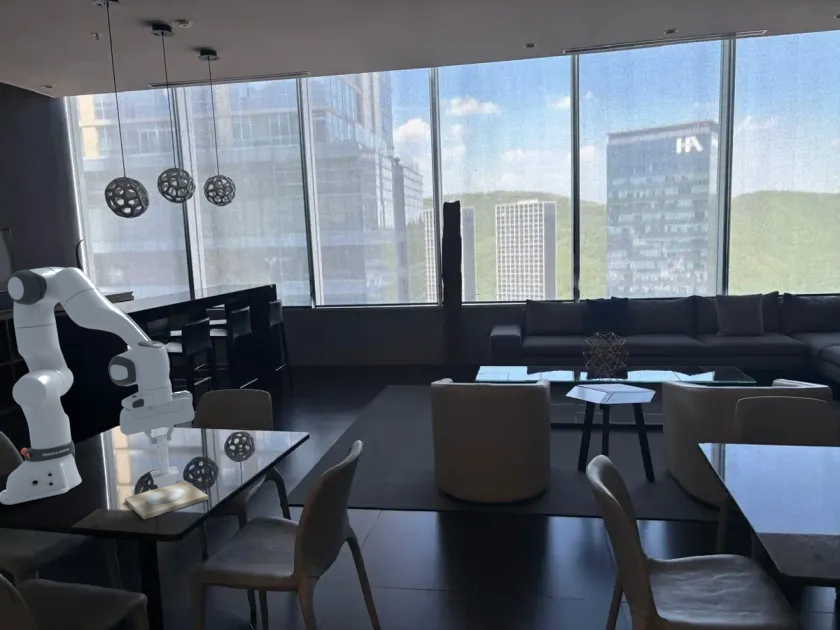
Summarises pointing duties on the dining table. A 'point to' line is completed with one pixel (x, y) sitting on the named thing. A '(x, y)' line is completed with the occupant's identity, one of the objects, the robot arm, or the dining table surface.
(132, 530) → the dining table surface
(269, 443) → the dining table surface
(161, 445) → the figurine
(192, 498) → the oak board
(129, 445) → the dining table surface
